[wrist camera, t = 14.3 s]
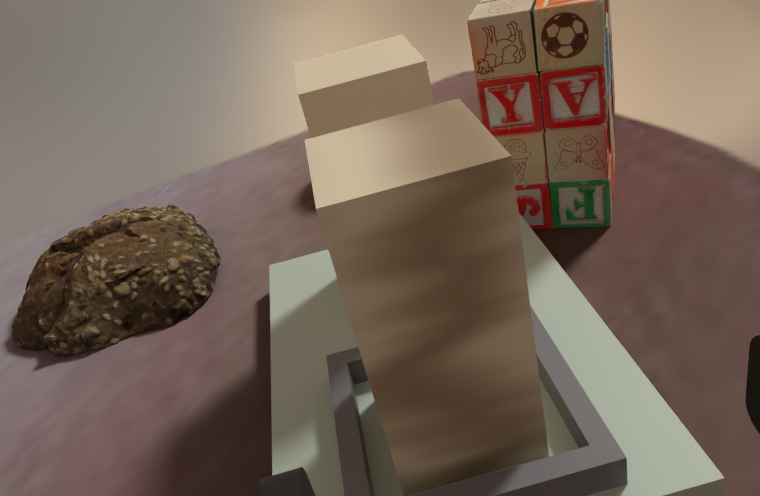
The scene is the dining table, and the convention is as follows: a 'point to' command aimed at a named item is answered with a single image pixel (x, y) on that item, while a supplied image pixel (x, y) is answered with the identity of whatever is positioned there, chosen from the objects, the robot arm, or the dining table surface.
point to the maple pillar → (434, 289)
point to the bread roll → (116, 280)
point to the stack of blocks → (550, 104)
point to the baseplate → (551, 333)
